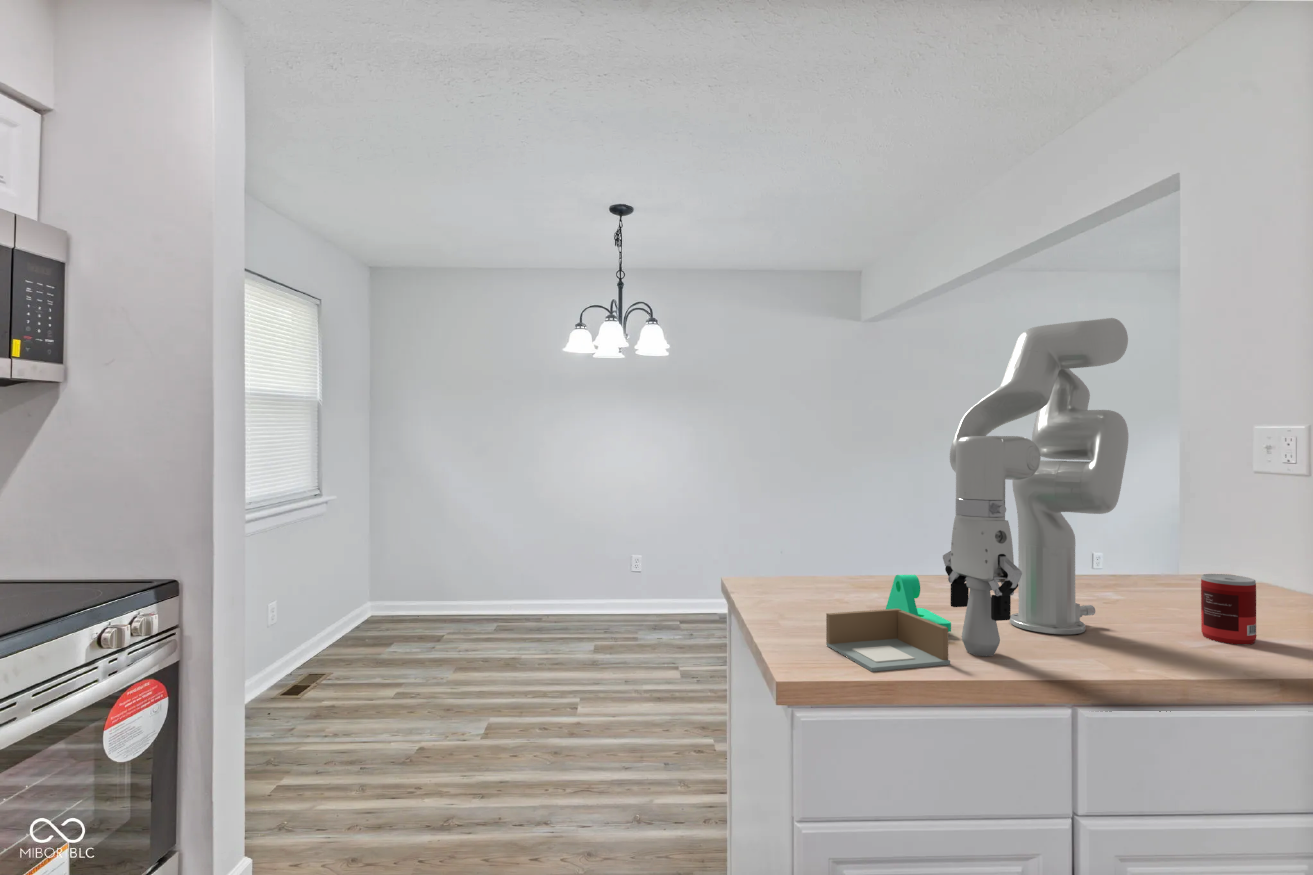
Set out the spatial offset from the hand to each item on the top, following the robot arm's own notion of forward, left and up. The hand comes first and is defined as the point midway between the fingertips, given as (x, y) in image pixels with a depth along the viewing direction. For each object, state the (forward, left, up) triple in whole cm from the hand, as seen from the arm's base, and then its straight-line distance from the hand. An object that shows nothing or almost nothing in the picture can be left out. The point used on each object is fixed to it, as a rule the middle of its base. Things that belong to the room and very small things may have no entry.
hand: (979, 613), depth 116 cm
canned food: (-49, +4, -7) cm, 50 cm away
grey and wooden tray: (+16, -3, -7) cm, 17 cm away
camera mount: (0, -16, -7) cm, 18 cm away
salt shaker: (0, 0, -7) cm, 7 cm away
